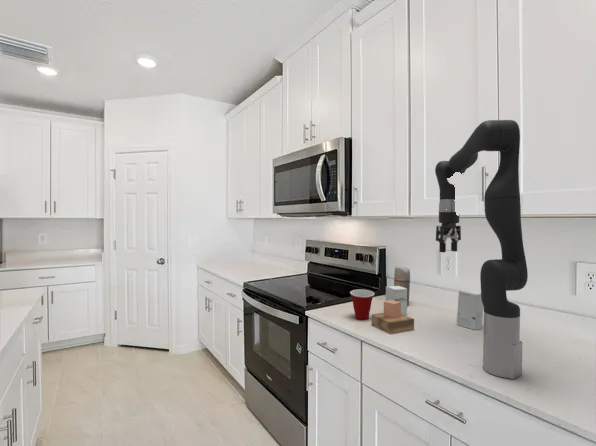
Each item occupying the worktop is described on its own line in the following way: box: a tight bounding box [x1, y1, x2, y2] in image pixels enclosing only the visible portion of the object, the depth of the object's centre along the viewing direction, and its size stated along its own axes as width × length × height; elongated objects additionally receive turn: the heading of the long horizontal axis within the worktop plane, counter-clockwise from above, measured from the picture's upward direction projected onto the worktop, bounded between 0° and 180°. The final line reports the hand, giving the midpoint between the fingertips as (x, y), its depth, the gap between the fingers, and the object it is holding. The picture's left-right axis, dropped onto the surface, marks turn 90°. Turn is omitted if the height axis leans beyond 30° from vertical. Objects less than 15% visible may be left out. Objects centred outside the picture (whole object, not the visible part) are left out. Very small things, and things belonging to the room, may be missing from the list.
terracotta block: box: [383, 300, 401, 319], centre depth 138 cm, size 5×5×6 cm
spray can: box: [393, 265, 411, 307], centre depth 175 cm, size 8×8×20 cm
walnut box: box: [371, 312, 415, 335], centre depth 138 cm, size 12×12×5 cm
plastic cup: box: [349, 288, 375, 321], centre depth 150 cm, size 11×11×12 cm
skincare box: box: [456, 289, 484, 331], centre depth 140 cm, size 8×6×15 cm
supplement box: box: [385, 285, 408, 316], centre depth 158 cm, size 7×7×13 cm
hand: (448, 251), depth 133 cm, fingers open, 8 cm apart
